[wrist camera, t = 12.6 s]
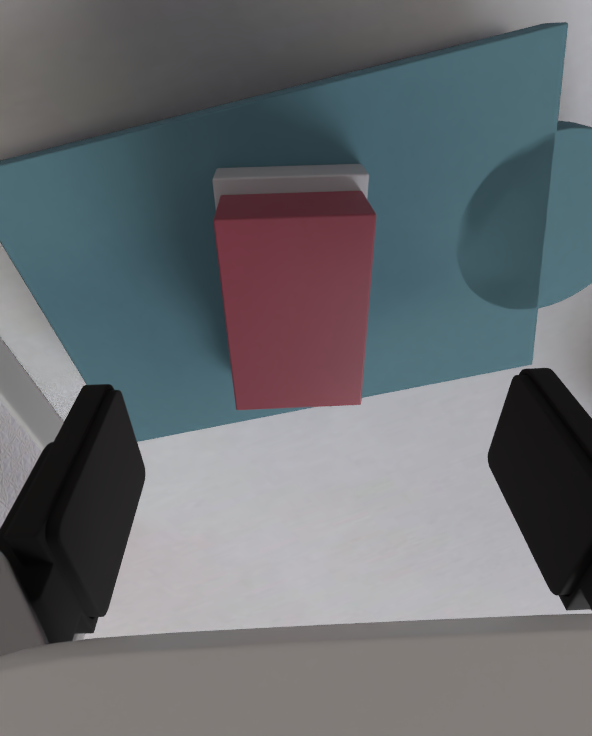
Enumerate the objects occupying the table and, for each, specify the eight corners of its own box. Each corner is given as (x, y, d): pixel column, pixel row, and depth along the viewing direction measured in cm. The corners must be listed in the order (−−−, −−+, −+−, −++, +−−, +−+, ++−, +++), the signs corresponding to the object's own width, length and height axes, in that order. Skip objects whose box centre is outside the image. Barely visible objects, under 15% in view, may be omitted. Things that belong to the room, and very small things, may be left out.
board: (140, 394, 26) (122, 445, 23) (12, 151, 19) (-41, 175, 16) (564, 308, 24) (610, 349, 21) (609, 0, 17) (690, -9, 14)
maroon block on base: (216, 167, 16) (202, 200, 13) (361, 163, 16) (386, 195, 13) (239, 379, 21) (234, 441, 18) (349, 374, 21) (364, 434, 18)
